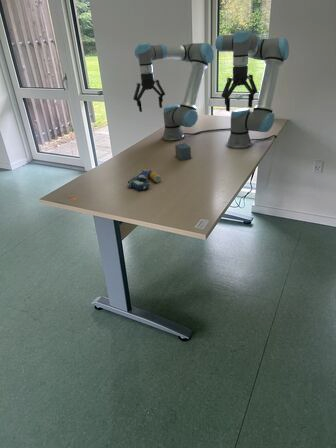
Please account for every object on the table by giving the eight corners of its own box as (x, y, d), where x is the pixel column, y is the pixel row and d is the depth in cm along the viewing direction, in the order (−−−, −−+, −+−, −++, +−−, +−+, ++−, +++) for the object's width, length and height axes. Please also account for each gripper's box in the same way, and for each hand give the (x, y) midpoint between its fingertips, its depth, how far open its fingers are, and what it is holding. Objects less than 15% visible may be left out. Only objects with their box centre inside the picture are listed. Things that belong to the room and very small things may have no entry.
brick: (181, 160, 208) (180, 148, 204) (175, 155, 215) (175, 144, 212) (190, 158, 210) (190, 146, 206) (185, 154, 217) (184, 142, 213)
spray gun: (166, 176, 187) (143, 174, 193) (165, 169, 185) (142, 167, 191) (148, 193, 172) (124, 189, 178) (147, 185, 170) (123, 182, 176)
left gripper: (128, 76, 191) (134, 114, 202) (168, 70, 199) (171, 107, 210) (124, 75, 197) (130, 112, 208) (163, 69, 205) (166, 105, 216)
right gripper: (221, 69, 163) (221, 113, 174) (265, 63, 169) (263, 106, 180) (214, 68, 169) (215, 111, 180) (257, 62, 175) (255, 104, 186)
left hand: (150, 109), depth 209 cm, fingers open, 13 cm apart
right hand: (239, 109), depth 180 cm, fingers open, 13 cm apart
